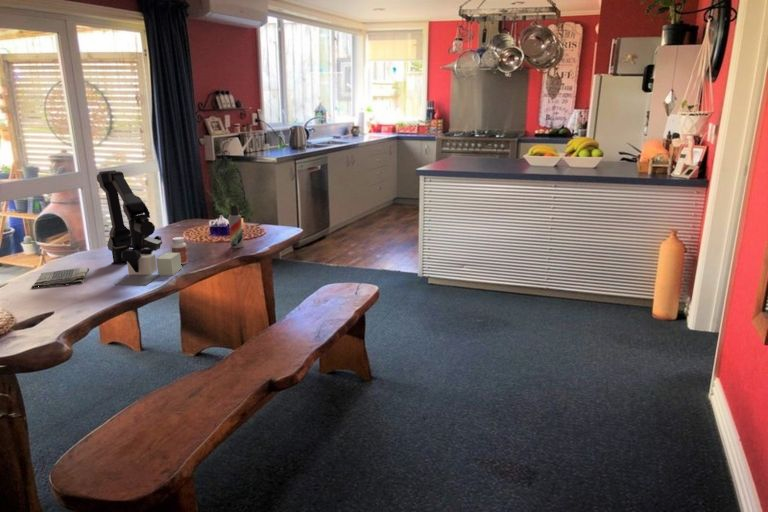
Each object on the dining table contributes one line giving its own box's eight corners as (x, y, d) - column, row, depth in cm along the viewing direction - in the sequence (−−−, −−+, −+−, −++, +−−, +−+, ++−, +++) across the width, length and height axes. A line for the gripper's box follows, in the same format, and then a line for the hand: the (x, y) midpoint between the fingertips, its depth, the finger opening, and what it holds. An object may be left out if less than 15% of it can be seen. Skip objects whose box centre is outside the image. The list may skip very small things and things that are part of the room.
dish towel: (41, 276, 226) (39, 269, 226) (90, 271, 232) (89, 264, 232) (31, 290, 210) (29, 282, 209) (84, 285, 216) (83, 277, 215)
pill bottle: (190, 263, 241) (187, 238, 238) (175, 265, 238) (172, 240, 235) (186, 260, 246) (183, 235, 243) (171, 262, 243) (168, 237, 240)
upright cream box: (128, 274, 226) (126, 258, 224) (135, 270, 232) (133, 253, 230) (150, 274, 226) (148, 258, 224) (157, 270, 232) (155, 254, 230)
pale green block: (172, 275, 225) (170, 258, 223) (158, 275, 225) (156, 258, 223) (181, 268, 233) (180, 252, 231) (167, 268, 234) (165, 252, 232)
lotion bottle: (231, 248, 264) (227, 206, 259) (230, 245, 270) (227, 204, 264) (243, 247, 266) (240, 206, 260) (243, 244, 271) (239, 204, 266)
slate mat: (115, 285, 214) (115, 284, 214) (131, 275, 225) (130, 274, 225) (146, 285, 213) (146, 284, 213) (160, 275, 225) (160, 274, 224)
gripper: (146, 237, 215) (151, 276, 219) (167, 226, 233) (171, 262, 237) (118, 237, 215) (123, 275, 220) (141, 226, 233) (145, 262, 238)
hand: (142, 268), depth 228 cm, fingers open, 9 cm apart
